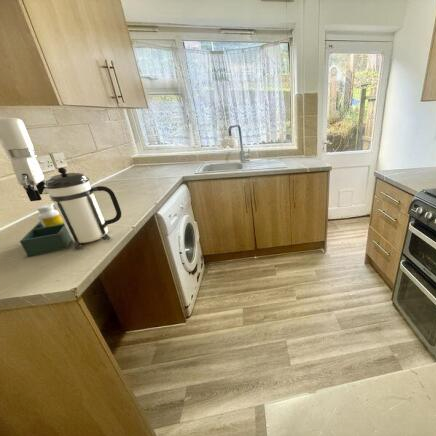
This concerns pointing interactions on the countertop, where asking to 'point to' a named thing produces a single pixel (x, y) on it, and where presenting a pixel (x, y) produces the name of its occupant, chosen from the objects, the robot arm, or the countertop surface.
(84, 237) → the coffee press
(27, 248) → the box
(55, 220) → the supplement bottle
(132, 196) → the countertop surface
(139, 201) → the countertop surface
